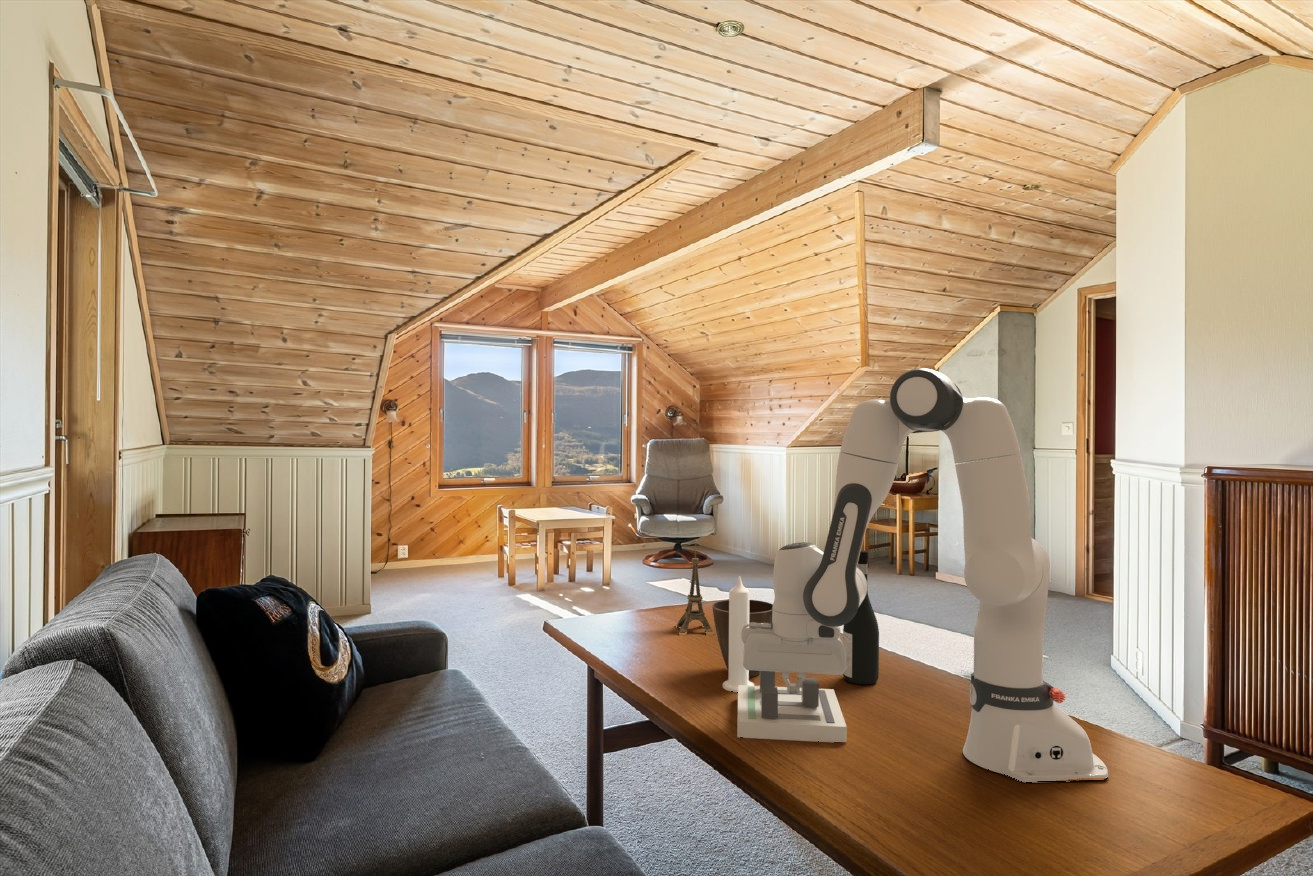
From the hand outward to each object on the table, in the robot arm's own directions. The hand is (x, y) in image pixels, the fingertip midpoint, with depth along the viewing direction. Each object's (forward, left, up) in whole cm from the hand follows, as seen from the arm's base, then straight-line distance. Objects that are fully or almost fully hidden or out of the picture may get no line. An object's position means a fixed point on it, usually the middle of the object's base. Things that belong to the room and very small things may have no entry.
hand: (793, 693), depth 152 cm
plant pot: (+10, -29, -5) cm, 31 cm away
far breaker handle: (+5, -7, -2) cm, 9 cm away
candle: (+11, -18, -5) cm, 22 cm away
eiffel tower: (+24, -67, -6) cm, 71 cm away
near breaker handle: (+5, +7, -2) cm, 9 cm away
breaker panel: (+1, 0, -5) cm, 5 cm away
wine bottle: (-17, -27, -5) cm, 33 cm away
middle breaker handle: (-3, 0, -2) cm, 4 cm away
